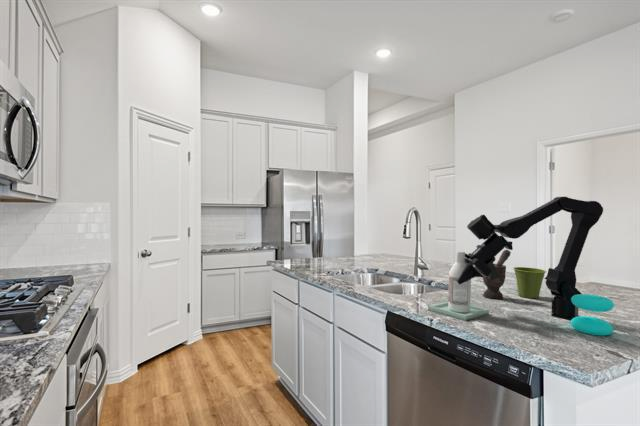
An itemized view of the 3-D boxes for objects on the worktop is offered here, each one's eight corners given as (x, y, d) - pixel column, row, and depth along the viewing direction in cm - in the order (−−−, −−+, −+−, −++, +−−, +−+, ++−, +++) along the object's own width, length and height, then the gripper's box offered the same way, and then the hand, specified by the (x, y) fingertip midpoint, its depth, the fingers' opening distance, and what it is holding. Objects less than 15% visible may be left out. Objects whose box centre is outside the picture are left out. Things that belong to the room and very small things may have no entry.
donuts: (614, 303, 98) (569, 297, 104) (613, 339, 98) (568, 331, 104) (614, 297, 106) (572, 291, 112) (613, 330, 106) (572, 323, 112)
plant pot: (516, 298, 143) (516, 270, 143) (509, 292, 154) (510, 266, 154) (549, 301, 140) (550, 272, 140) (540, 294, 151) (541, 268, 151)
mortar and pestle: (517, 299, 141) (518, 249, 141) (506, 302, 136) (507, 250, 136) (488, 293, 151) (489, 246, 151) (477, 296, 145) (478, 247, 145)
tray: (488, 313, 121) (488, 309, 121) (465, 320, 112) (465, 316, 112) (451, 304, 132) (451, 300, 132) (428, 310, 123) (428, 305, 123)
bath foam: (453, 306, 127) (455, 250, 127) (473, 310, 122) (475, 252, 122) (444, 309, 122) (446, 251, 122) (464, 314, 117) (466, 253, 117)
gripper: (519, 271, 111) (482, 305, 112) (495, 262, 130) (463, 292, 131) (493, 245, 112) (456, 279, 113) (473, 240, 130) (441, 270, 131)
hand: (455, 281), depth 122 cm, fingers open, 7 cm apart
